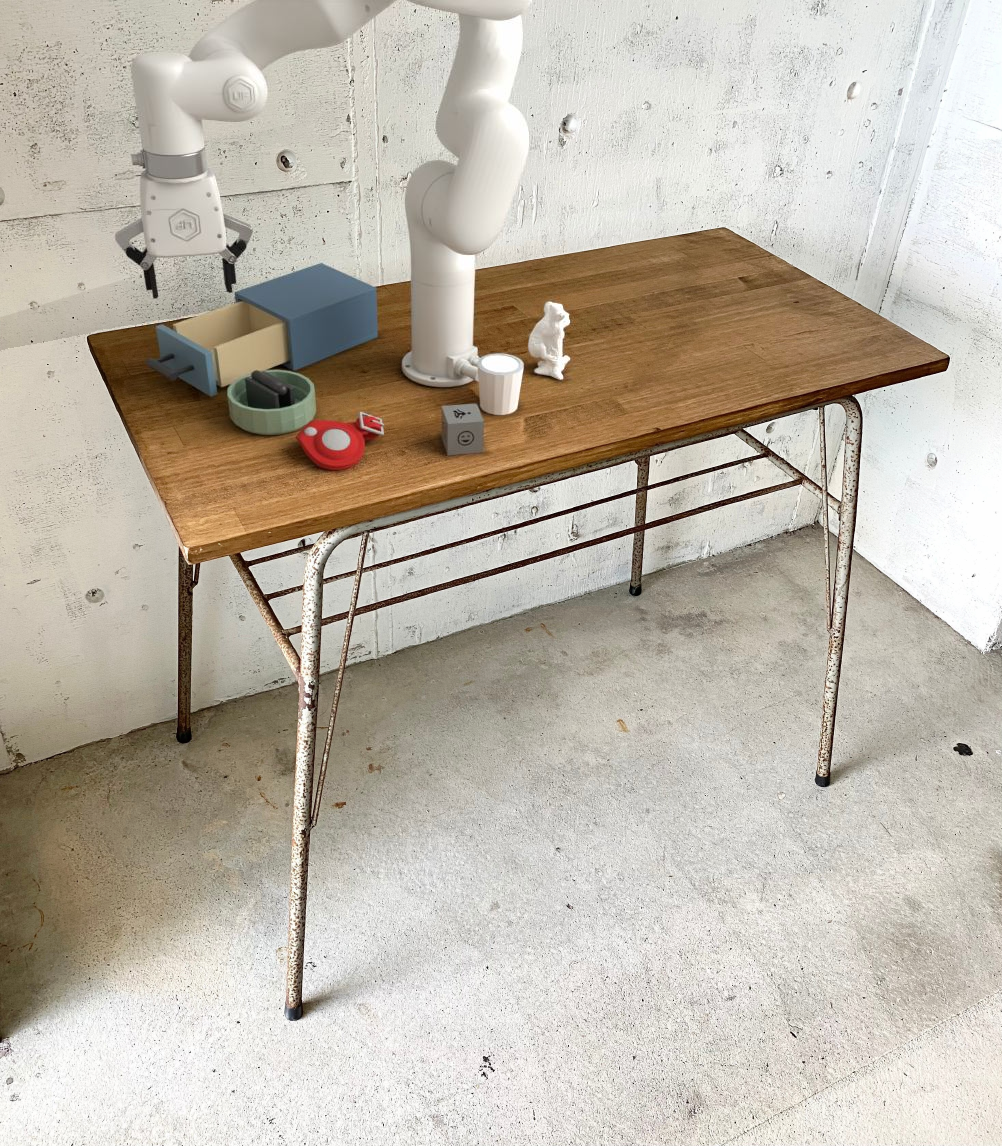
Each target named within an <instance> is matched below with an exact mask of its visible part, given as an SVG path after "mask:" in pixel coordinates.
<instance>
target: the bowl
mask: <svg viewBox="0 0 1002 1146" xmlns="http://www.w3.org/2000/svg"><path fill="white" fill-rule="evenodd" d="M263 371H265V372H267V373H268V374H270V375H272V376H274V377H276V378H278V379H279V380H281V381H283V382H285V383H287V384H288V385H290V386H292V387H293V388H294V399H295V404H294V405H292V406H288V407H284V408H279V409H257V408H251V407H248V402H247V393H246V385H245V378H247V377H249V378H251V373H249V374H247V375H244V376H242V377H239V378H238V379H236V380H235V381H234V382H232V383H231V384H229V385H228V387H227V391H226V392H227V395H226V396H227V404H228V411H229V418H230V419H231V421H232V422H233V424H234V425H235V426H237V427H238V428H241V429H242V430H244V431H246V432H248V433H252V434H255V435H262V436H278V435H284V434H285V435H286V434H291V433H292V432H296V431H299V430H301V429H303V428H304V426H305V425H306V424H308V423H309V422H311V421H313V420H314V418H315V415H316V413H317V407H316V406H317V405H316V404H317V402H316V390H315V384H314V383H313V381H312V380H311V379H310V378H309V377H307V376H305V375H303V374H301V373H299V372H296V371H292V370H283V369H267V370H263ZM260 372H262V371H260ZM251 379H252V378H251Z"/></svg>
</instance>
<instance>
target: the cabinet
mask: <svg viewBox="0 0 1002 1146" xmlns="http://www.w3.org/2000/svg"><path fill="white" fill-rule="evenodd" d="M377 293H378V292H377V287H375V286H374V285H372V284H369V283H368V282H367V283H366V282H365V281H362V280H360V279H358V278H356V277H353V276H352V275H349V274H347V273H345V272H342V271H341V270H339V269H336V268H333V267H332V266H329V265H327V264H325V263H323V262H320V263H316V264H314V265H311V266H308V267H305V268H302V269H299V270H296V271H293V272H289V273H286V274H284V275H281V276H278V277H275V278H272V279H269V280H266V281H263V282H261V283H257V284H254V285H252V286H249V287H245V288H242V289H240V290H236V291H234V301H235V302H234V303H237V302H239V301H242V300H243V301H245V302H247V303H249V304H251V305H252V306H254V307H256V308H258V309H260V310H262V311H264V312H266V313H268V314H270V315H272V316H274V317H276V318H278V319H280V320H282V321H284V322H286V323H287V334H288V345H289V357H290V361H287V362H285V363H282V364H280V365H281V366H283V367H286V368H287V369H289V370H290V371H292V372H296V371H297V370H300V369H302V368H305V367H308V366H310V365H313V364H316V363H317V362H320V361H322V360H325V359H327V358H329V357H332V356H334V355H335V356H336V355H337V354H339V353H342V352H344V351H347V350H349V349H352V348H354V347H358V346H359V345H362V344H364V343H367V342H369V341H372V340H374V339H376V338H378V337H379V334H378V333H379V329H378V328H379V326H378V295H377Z"/></svg>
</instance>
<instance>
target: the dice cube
mask: <svg viewBox="0 0 1002 1146" xmlns="http://www.w3.org/2000/svg"><path fill="white" fill-rule="evenodd" d="M484 428H485V421H484V418H483V415H482V412H481V411H480V408H479V405H478V403H466V404H464V403H463V404H451V405H441V430H440V431H441V432H440V433H441V434H440V435H441V437H440V438H441V440H442V443H443V446H444V449H445V451H446V455H447V456H456V455H459V456H460V455H469V454H482V453H484V433H485V432H484V430H485V429H484Z"/></svg>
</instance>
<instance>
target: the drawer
mask: <svg viewBox="0 0 1002 1146" xmlns="http://www.w3.org/2000/svg"><path fill="white" fill-rule="evenodd" d="M172 328H173V329H171V328H170V327H168V326H166V325H164V324H163V323H162V324H159V325H156V326H155V331H156V337H157V342H158V343H157V345H158V350H159V356H160V357H158V358H153V357H148V358H147V360H146V362H145V364H146V366H147V367H148V368H150V369H152V370H153V371H155V372H156V373H158V374H159V375H162V376H163V377H165V378H166V379H168V380H170V381H172V382H174V381H176V380H177V379H178V378H179V379H181V380H182V381H184V382H186V384H189V385H191V386H192V387H194V388H195V389H197V390H199V391H200V392H202V393H204V394H206V395H207V396H209V397H213V396H217V395H218V389H217V388H218V387H217V386H219V387H220V388H224V387H226V386H230V385H231V383H232V382H234V381H235V380H236V379H238V378H239V377H242V376H244V375H247V374H249V373H252V372H253V371H255V370H258V371H263V370H270V369H272V368H274V367H277V366H279V365H281V364H282V363H285V362H287V361H290V357H289V345H288V334H287V323H286V322H284V321H282V320H280V319H278V318H276V317H274V316H272V315H270V314H268V313H266V312H264V311H262V310H260V309H258V308H256V307H254V306H252V305H251V304H249V303H247V302H245V301H243V300H242V301H239V302H237V303H236V302H233V303H231V304H228V305H225V306H222V307H218V308H217V309H213V310H210V311H207V312H205V313H202V314H199V315H196V316H193V317H191V318H187V319H185V320H181V321H179V322H176V323H173V324H172Z"/></svg>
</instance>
